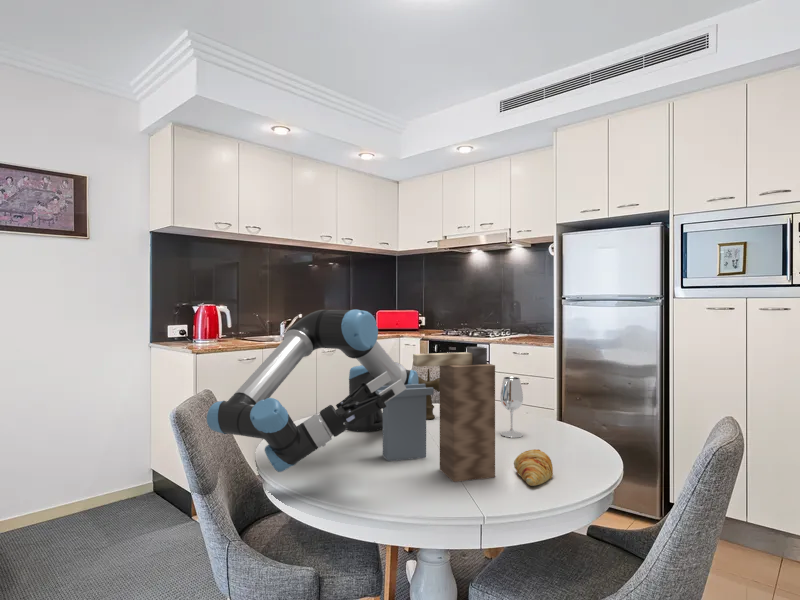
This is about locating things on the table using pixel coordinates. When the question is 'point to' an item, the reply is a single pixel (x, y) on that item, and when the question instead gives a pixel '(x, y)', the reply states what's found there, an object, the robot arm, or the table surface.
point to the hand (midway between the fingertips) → (396, 379)
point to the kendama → (429, 405)
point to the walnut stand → (467, 421)
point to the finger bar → (452, 358)
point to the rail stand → (405, 423)
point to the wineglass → (511, 401)
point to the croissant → (534, 467)
